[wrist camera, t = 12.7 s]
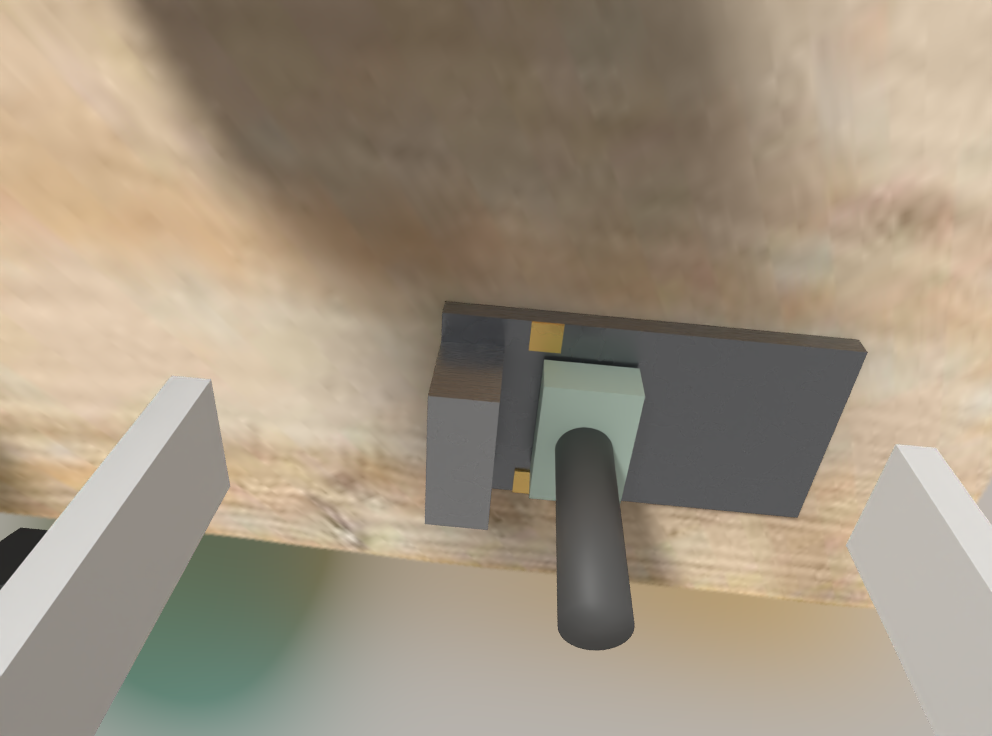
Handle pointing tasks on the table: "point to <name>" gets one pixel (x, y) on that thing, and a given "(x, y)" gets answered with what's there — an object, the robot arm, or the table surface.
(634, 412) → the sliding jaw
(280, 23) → the table surface
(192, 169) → the table surface
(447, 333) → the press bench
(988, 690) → the robot arm
